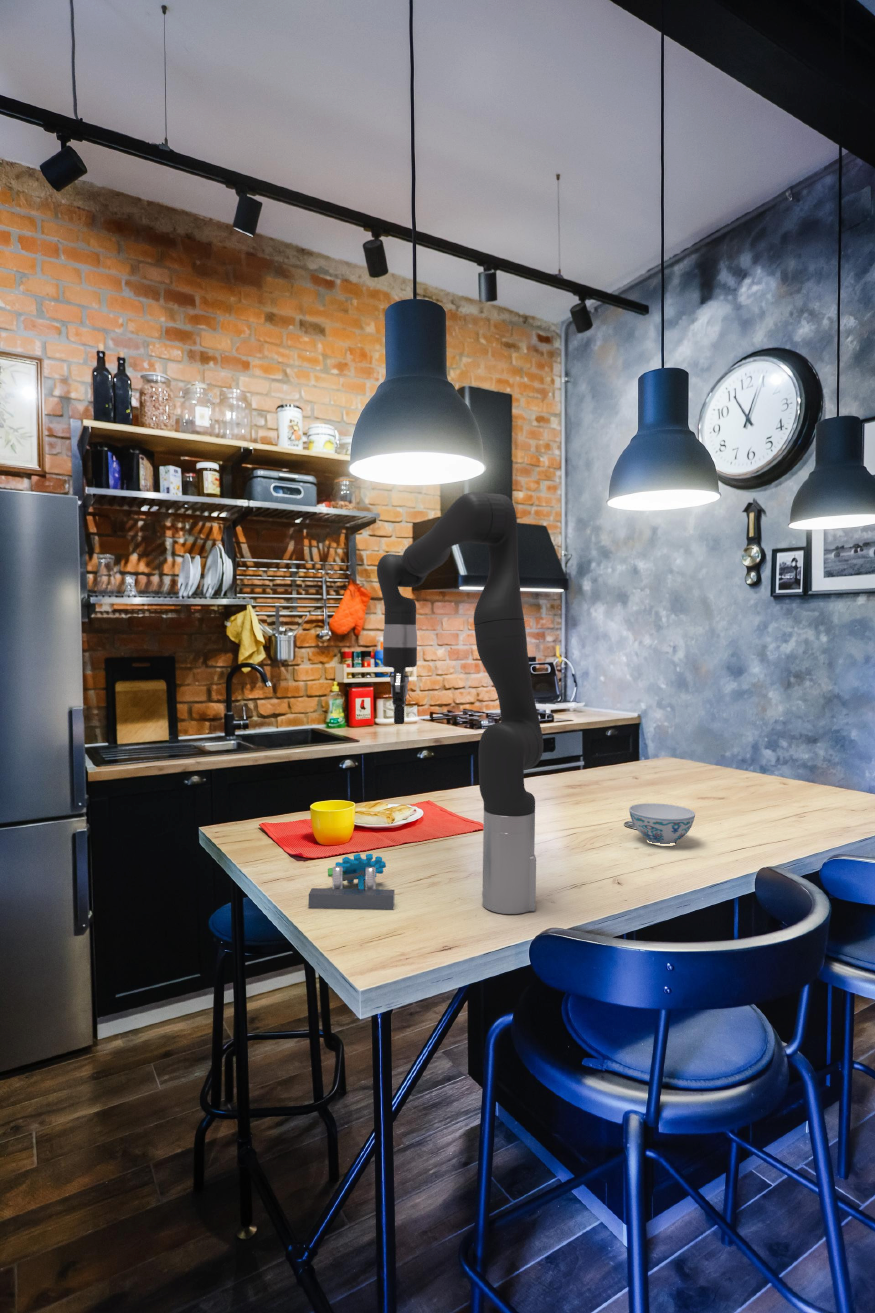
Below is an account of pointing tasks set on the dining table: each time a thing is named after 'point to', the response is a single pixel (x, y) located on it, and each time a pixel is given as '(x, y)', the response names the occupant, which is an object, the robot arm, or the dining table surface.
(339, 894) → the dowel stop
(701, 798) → the dining table surface
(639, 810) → the chinaware
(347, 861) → the blue bumpy piece
